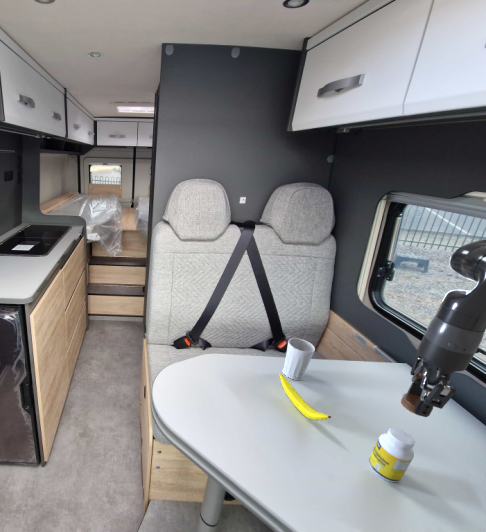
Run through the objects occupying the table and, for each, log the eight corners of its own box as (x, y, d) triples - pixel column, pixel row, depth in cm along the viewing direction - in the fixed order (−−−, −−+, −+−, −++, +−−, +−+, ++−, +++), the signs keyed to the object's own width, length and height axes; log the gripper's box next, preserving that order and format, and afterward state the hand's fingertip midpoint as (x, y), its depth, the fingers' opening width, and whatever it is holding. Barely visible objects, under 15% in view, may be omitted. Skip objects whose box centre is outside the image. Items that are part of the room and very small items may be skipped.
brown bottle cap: (425, 404, 69) (428, 398, 69) (433, 420, 65) (437, 413, 64) (398, 395, 71) (401, 389, 71) (403, 410, 67) (407, 404, 67)
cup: (282, 363, 111) (290, 335, 107) (306, 372, 107) (316, 344, 103) (277, 375, 105) (286, 345, 101) (303, 385, 101) (313, 355, 97)
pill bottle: (365, 453, 79) (381, 419, 75) (396, 465, 76) (414, 430, 72) (370, 475, 73) (388, 440, 69) (404, 489, 71) (424, 453, 67)
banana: (280, 384, 101) (284, 368, 99) (328, 433, 84) (335, 416, 82) (272, 385, 100) (277, 369, 98) (319, 435, 83) (326, 417, 81)
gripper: (493, 368, 54) (451, 438, 60) (459, 330, 66) (427, 392, 72) (438, 353, 58) (403, 421, 64) (415, 320, 69) (388, 380, 76)
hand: (416, 405), depth 68 cm, fingers closed on brown bottle cap, 5 cm apart
